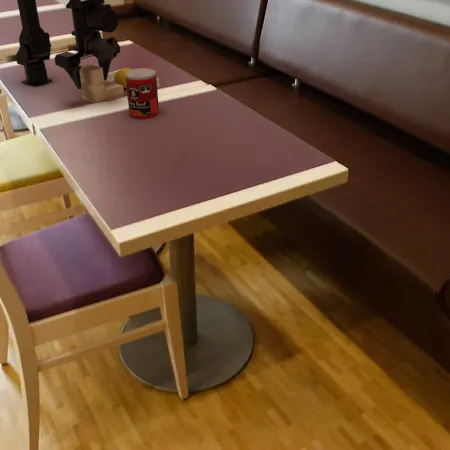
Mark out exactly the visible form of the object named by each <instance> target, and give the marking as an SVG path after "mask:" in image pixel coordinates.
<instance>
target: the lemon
mask: <svg viewBox="0 0 450 450" xmlns="http://www.w3.org/2000/svg"><path fill="white" fill-rule="evenodd" d="M118 70H119V71H117V70H116V71H117V72H116V74H115V76H114V81H113V82H115V84H119V85H123V89H127V88H126V77H125V76H126V75H125V74H126V72H128V71H130V70H133V69H132V68H129V67H123V68H120V69H118Z"/></svg>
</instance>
